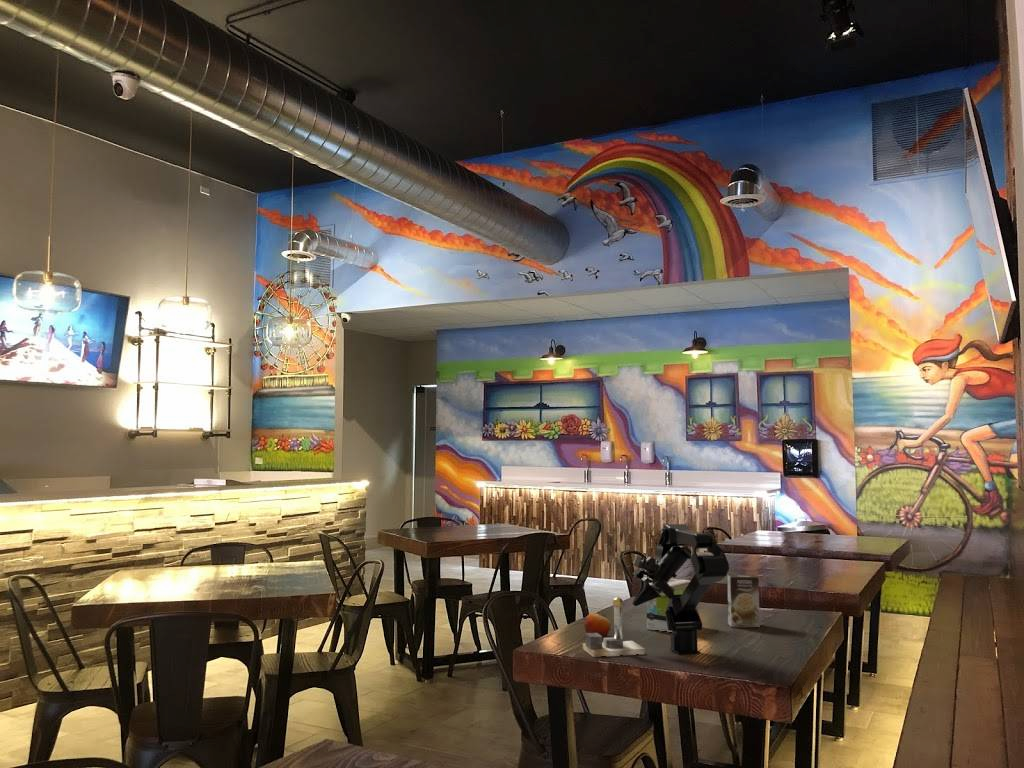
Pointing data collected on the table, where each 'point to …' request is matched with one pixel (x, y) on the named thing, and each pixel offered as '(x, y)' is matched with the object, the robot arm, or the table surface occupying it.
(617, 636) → the gold knob lever
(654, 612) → the tea box
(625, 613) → the table surface
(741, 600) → the coffee box
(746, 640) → the table surface
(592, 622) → the fruit
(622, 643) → the board
